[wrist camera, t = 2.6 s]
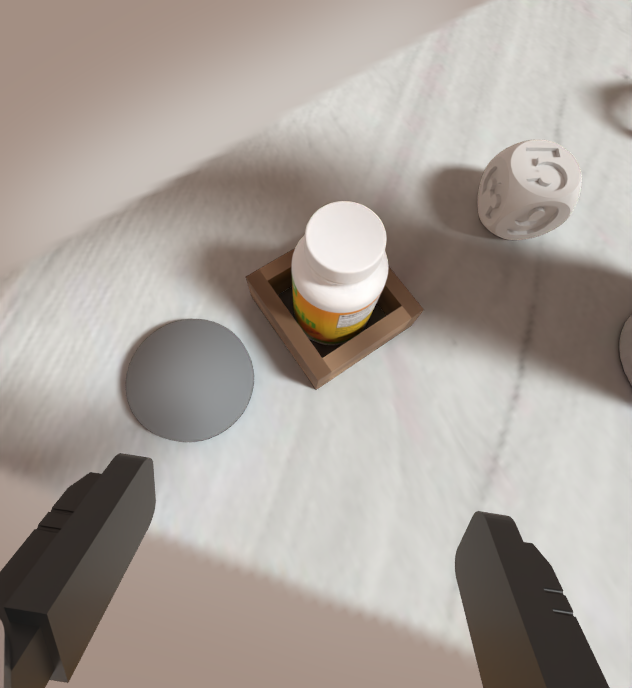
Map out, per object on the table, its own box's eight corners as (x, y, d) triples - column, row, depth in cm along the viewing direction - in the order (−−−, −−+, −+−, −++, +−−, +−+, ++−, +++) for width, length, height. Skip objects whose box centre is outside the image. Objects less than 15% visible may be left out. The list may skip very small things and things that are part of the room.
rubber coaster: (215, 303, 28) (212, 297, 27) (276, 396, 26) (276, 393, 25) (110, 364, 27) (103, 360, 26) (168, 467, 25) (163, 468, 24)
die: (533, 186, 32) (574, 138, 27) (545, 241, 31) (590, 200, 26) (473, 186, 32) (503, 137, 27) (481, 241, 31) (515, 199, 26)
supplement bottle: (280, 294, 29) (270, 211, 19) (346, 265, 29) (367, 173, 20) (313, 359, 27) (321, 304, 18) (382, 327, 28) (422, 258, 19)
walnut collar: (344, 240, 30) (348, 216, 27) (411, 325, 28) (423, 309, 25) (251, 295, 28) (245, 276, 26) (316, 389, 27) (318, 380, 24)
